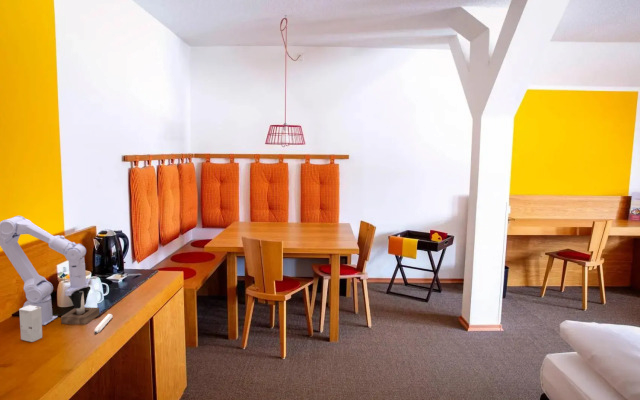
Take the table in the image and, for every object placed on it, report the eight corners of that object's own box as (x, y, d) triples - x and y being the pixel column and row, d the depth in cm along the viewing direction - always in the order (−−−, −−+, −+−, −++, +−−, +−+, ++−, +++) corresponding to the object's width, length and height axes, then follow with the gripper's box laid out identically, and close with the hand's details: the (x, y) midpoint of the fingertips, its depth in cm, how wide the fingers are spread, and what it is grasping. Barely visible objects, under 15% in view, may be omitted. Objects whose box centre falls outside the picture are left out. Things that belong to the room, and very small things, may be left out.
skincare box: (20, 340, 159) (17, 309, 157) (31, 334, 163) (28, 304, 161) (33, 342, 157) (29, 311, 155) (44, 337, 161) (41, 306, 160)
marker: (94, 338, 163) (109, 319, 179) (99, 335, 163) (113, 317, 179) (90, 332, 163) (105, 314, 178) (94, 329, 163) (110, 312, 178)
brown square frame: (61, 323, 173) (61, 316, 172) (76, 313, 183) (76, 307, 182) (85, 324, 172) (85, 317, 172) (99, 314, 182) (99, 307, 182)
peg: (75, 314, 176) (73, 293, 174) (79, 311, 179) (77, 290, 177) (82, 314, 176) (80, 293, 174) (86, 311, 178) (85, 291, 177)
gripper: (76, 280, 167) (78, 313, 169) (97, 269, 182) (99, 299, 184) (58, 280, 168) (61, 313, 170) (81, 269, 182) (83, 299, 184)
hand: (80, 306), depth 177 cm, fingers closed on peg, 3 cm apart
